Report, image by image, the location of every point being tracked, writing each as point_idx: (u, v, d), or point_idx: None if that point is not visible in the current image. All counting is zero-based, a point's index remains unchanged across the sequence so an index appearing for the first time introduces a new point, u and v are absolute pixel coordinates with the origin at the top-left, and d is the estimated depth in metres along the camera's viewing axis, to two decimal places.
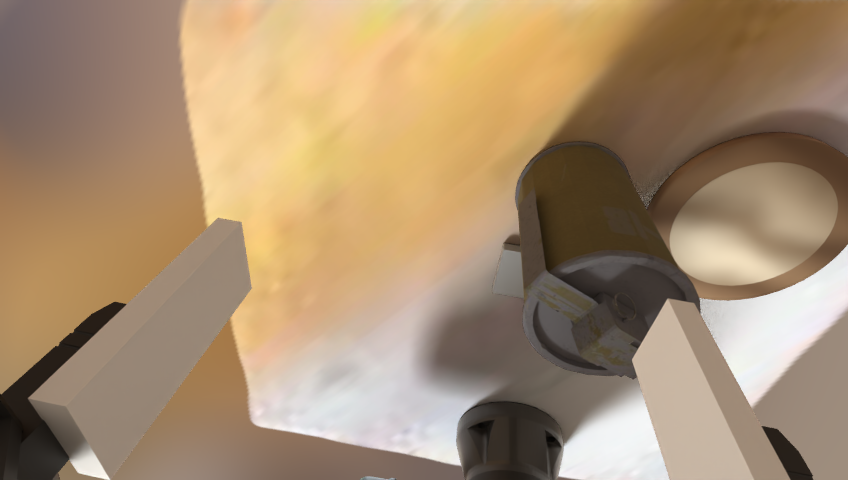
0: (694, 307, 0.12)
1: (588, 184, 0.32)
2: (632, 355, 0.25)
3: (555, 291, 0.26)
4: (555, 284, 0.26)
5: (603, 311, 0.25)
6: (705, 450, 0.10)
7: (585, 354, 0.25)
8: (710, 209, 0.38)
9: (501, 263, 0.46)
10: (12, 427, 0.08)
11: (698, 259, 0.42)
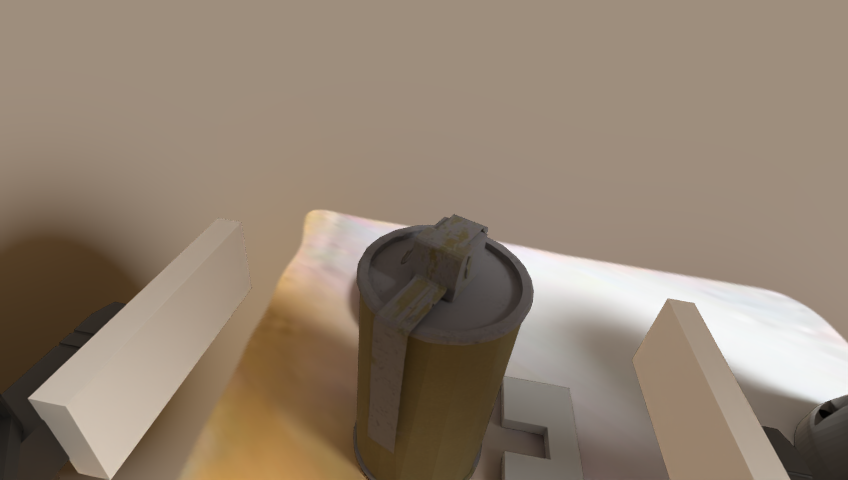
0: (694, 307, 0.12)
1: (358, 373, 0.30)
2: (452, 227, 0.25)
3: (403, 307, 0.22)
4: (393, 307, 0.22)
5: (415, 262, 0.24)
6: (705, 450, 0.10)
7: (459, 255, 0.23)
8: None
9: None
10: (12, 427, 0.08)
11: None
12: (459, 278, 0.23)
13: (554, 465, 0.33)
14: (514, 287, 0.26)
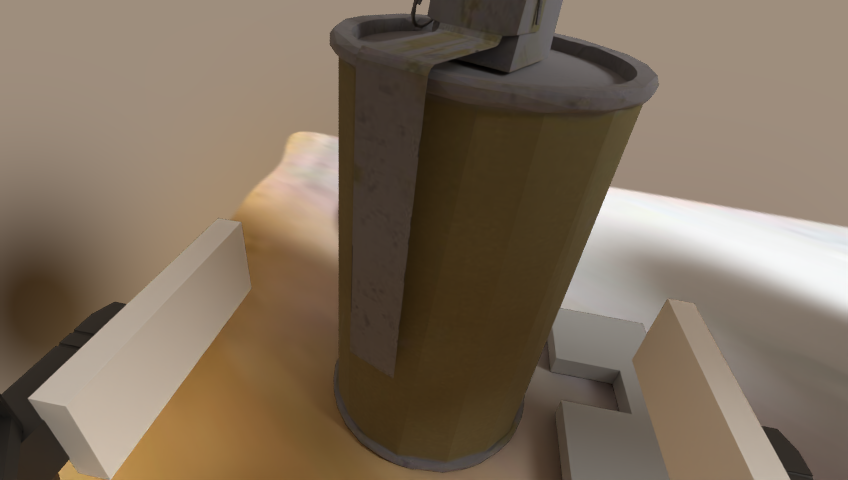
0: (694, 307, 0.12)
1: None
2: None
3: (418, 46, 0.11)
4: (397, 44, 0.11)
5: None
6: (705, 450, 0.10)
7: None
8: None
9: None
10: (12, 427, 0.08)
11: None
12: (527, 13, 0.12)
13: (638, 422, 0.22)
14: (614, 76, 0.14)
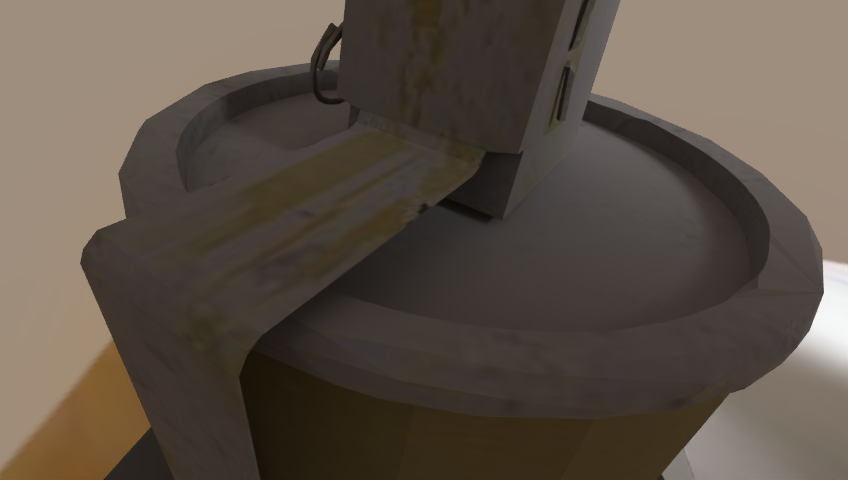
0: None
1: None
2: None
3: (272, 211, 0.04)
4: (214, 209, 0.04)
5: (357, 59, 0.06)
6: None
7: None
8: None
9: None
10: None
11: None
12: (540, 104, 0.05)
13: None
14: (697, 190, 0.08)
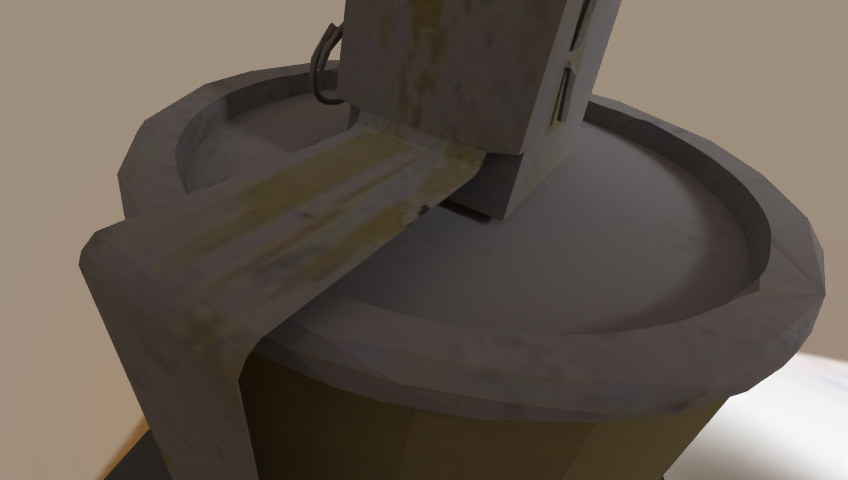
0: None
1: None
2: None
3: (271, 212, 0.04)
4: (213, 210, 0.04)
5: (358, 60, 0.06)
6: None
7: None
8: None
9: None
10: None
11: None
12: (541, 105, 0.05)
13: None
14: (697, 191, 0.08)
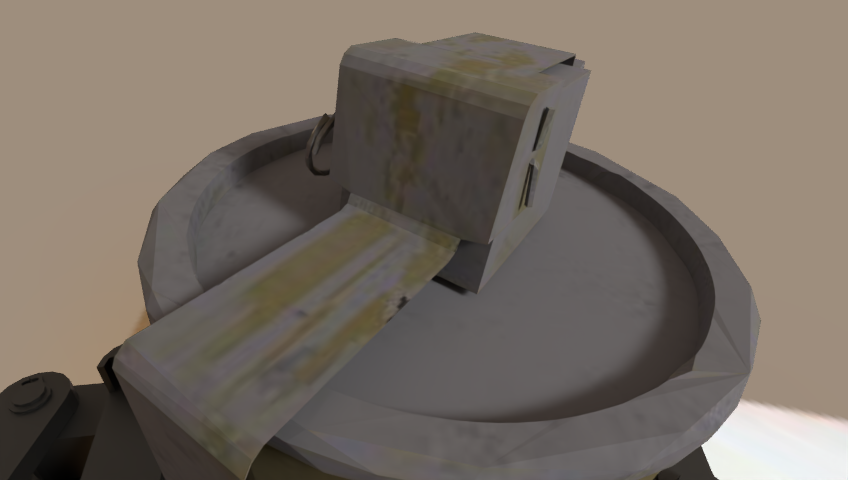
0: None
1: None
2: (474, 46, 0.07)
3: (271, 311, 0.05)
4: (222, 312, 0.05)
5: (347, 151, 0.07)
6: None
7: (514, 92, 0.05)
8: None
9: None
10: None
11: None
12: (507, 200, 0.06)
13: None
14: (661, 250, 0.09)
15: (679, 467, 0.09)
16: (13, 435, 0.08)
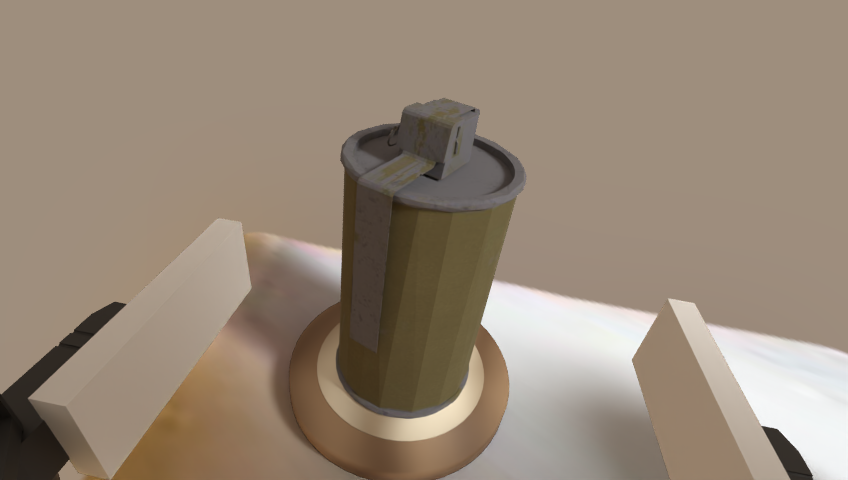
0: (694, 307, 0.12)
1: (341, 279, 0.29)
2: (442, 105, 0.24)
3: (389, 174, 0.21)
4: (378, 173, 0.21)
5: (403, 137, 0.23)
6: (705, 450, 0.10)
7: (449, 122, 0.21)
8: None
9: None
10: (12, 427, 0.08)
11: None
12: (449, 151, 0.22)
13: None
14: (506, 174, 0.25)
15: None
16: None
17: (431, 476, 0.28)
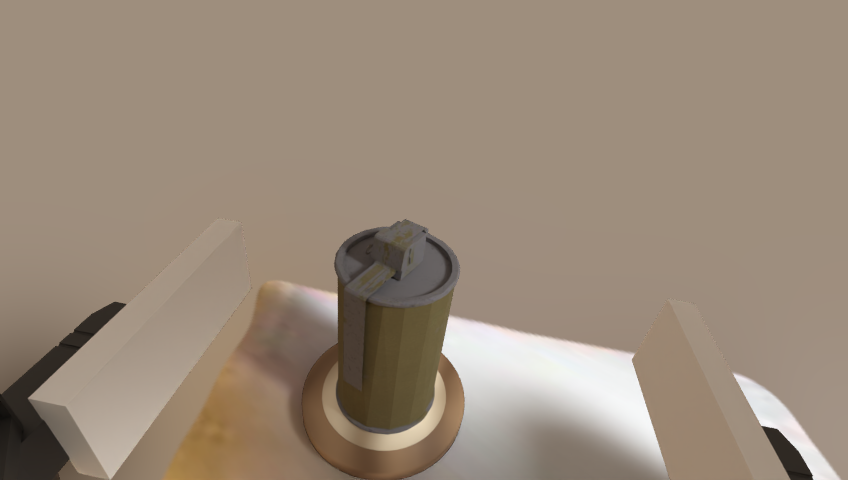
0: (694, 307, 0.12)
1: None
2: (401, 228, 0.35)
3: (364, 282, 0.33)
4: (357, 282, 0.33)
5: (375, 252, 0.35)
6: (705, 450, 0.10)
7: (403, 247, 0.33)
8: None
9: None
10: (12, 427, 0.08)
11: None
12: (404, 263, 0.34)
13: None
14: (447, 271, 0.36)
15: None
16: None
17: (402, 475, 0.40)
